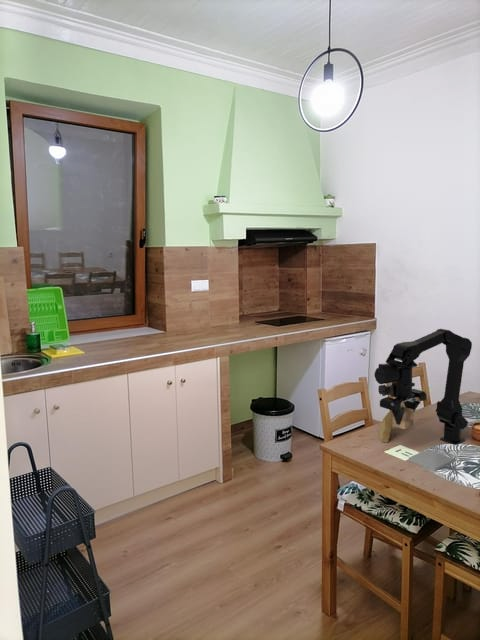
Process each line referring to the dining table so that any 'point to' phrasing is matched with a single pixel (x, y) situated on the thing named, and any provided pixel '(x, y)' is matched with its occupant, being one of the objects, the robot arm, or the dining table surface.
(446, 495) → the dining table surface
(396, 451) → the pale cream tile
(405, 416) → the block
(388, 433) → the rock
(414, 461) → the slate board
